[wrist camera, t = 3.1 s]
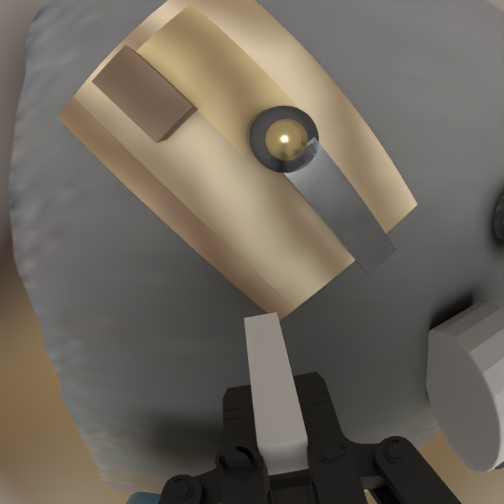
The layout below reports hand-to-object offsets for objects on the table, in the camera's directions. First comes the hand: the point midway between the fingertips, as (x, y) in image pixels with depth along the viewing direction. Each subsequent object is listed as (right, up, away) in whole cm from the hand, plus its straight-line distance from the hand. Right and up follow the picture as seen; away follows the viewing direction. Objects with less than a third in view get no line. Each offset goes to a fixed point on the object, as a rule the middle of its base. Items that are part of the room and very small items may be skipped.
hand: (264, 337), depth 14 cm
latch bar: (+4, +9, +7) cm, 12 cm away
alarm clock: (+26, -9, +20) cm, 34 cm away
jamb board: (-1, +12, +7) cm, 14 cm away
